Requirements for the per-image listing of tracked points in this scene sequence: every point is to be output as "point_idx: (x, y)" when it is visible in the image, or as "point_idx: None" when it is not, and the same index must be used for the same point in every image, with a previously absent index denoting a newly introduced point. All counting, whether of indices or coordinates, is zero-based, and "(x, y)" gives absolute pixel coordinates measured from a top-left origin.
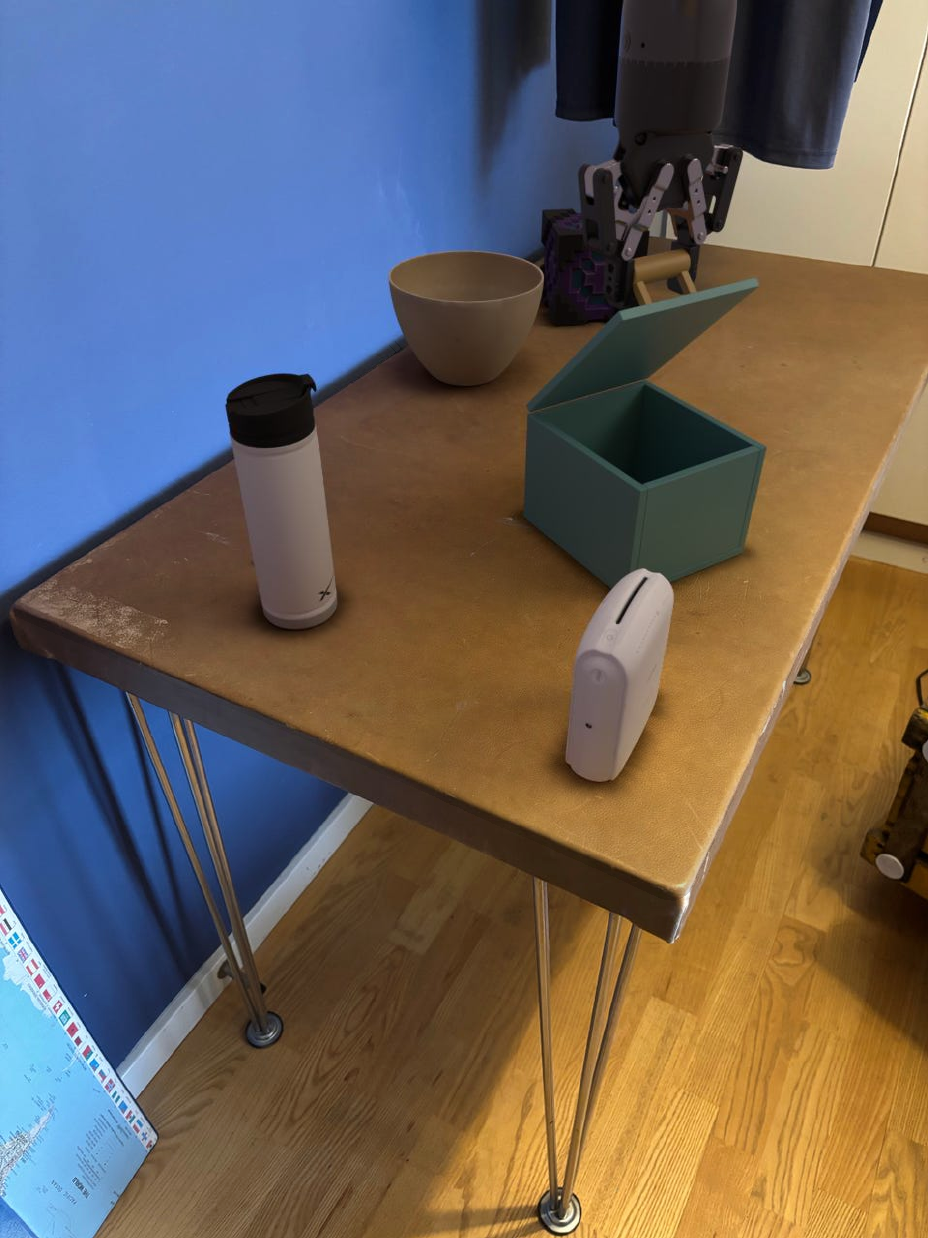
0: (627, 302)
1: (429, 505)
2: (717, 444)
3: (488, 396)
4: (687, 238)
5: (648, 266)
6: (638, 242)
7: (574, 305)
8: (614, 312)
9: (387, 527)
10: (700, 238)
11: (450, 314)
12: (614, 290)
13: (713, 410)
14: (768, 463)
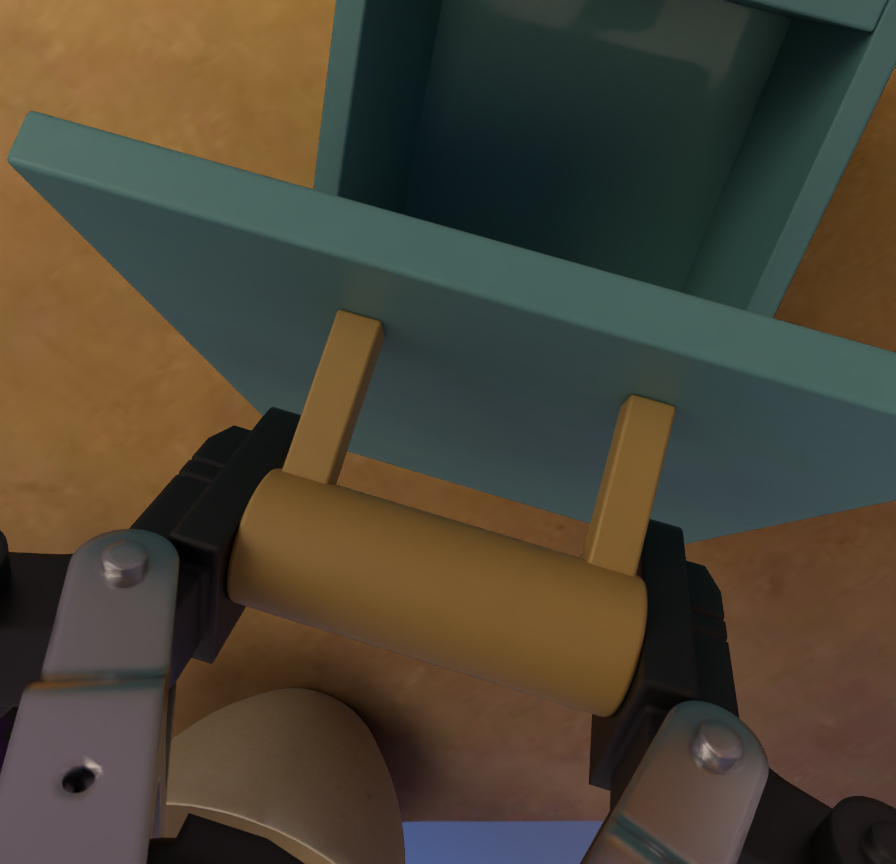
0: (664, 531)
1: (741, 535)
2: (373, 71)
3: (344, 664)
4: (186, 610)
5: (548, 605)
6: (645, 765)
7: (6, 721)
8: None
9: (861, 547)
10: (144, 552)
11: (368, 856)
12: (722, 615)
13: (26, 335)
14: (83, 110)
